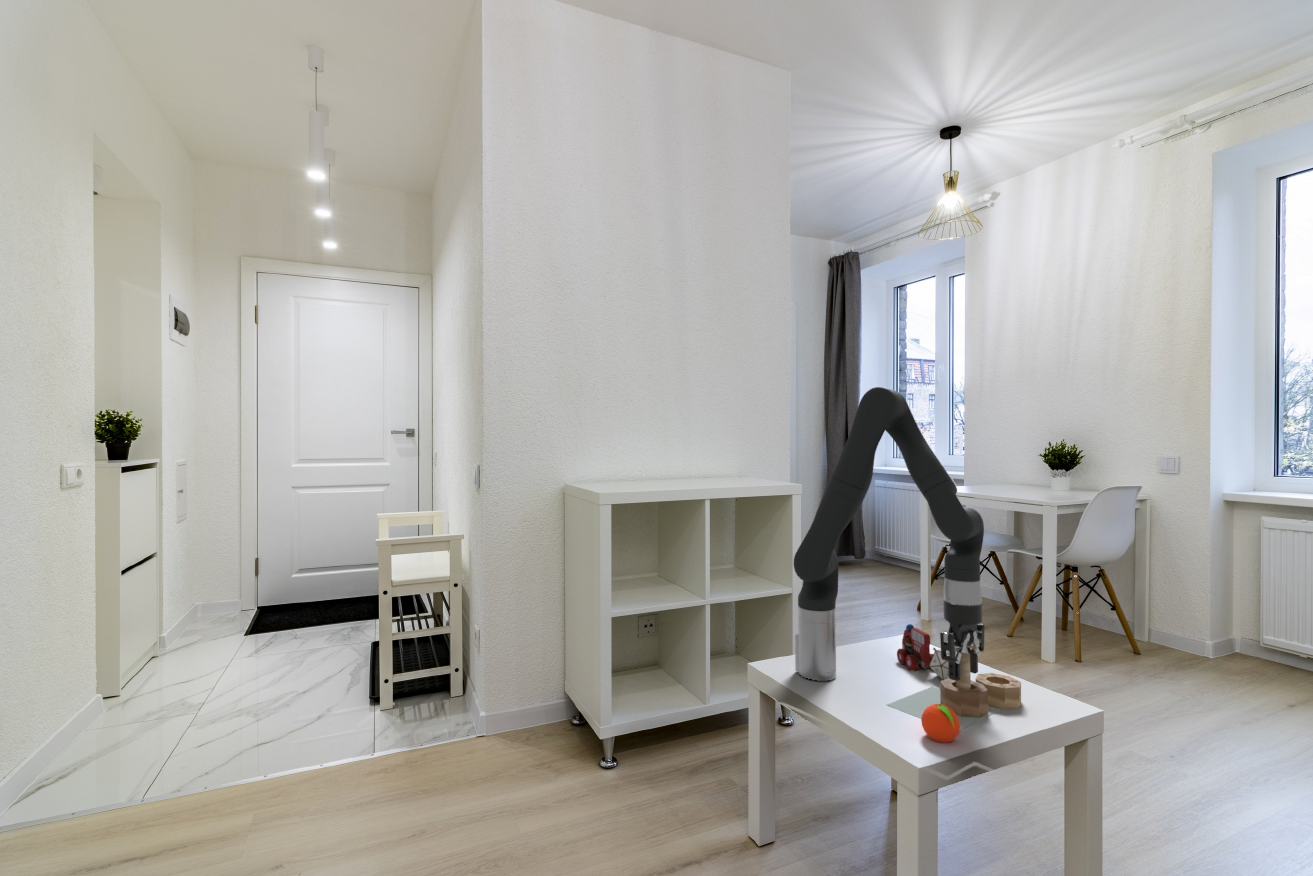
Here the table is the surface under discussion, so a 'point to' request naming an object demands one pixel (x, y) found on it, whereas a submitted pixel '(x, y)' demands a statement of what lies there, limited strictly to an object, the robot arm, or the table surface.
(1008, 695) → the oak bead
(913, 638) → the red toy car
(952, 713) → the clementine
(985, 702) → the walnut bead
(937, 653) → the game die
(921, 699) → the grey mat
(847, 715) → the table surface
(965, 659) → the birch peg
